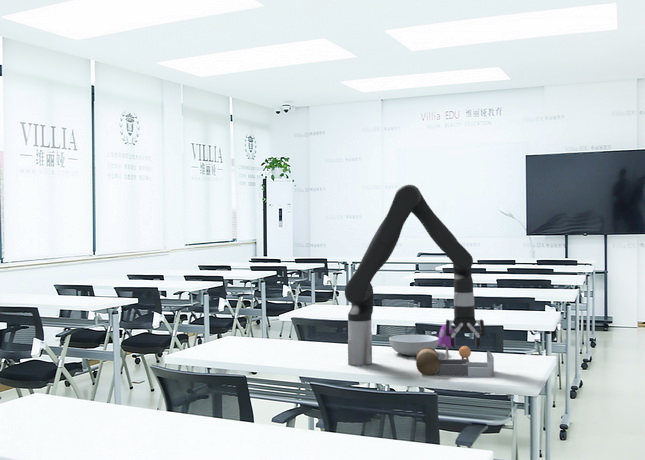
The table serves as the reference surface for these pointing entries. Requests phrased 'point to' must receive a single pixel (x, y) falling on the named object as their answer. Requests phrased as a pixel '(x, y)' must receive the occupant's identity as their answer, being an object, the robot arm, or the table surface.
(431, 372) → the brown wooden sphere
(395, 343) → the serving bowl
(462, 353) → the ball
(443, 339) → the toy
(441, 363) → the grey piece
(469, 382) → the table surface
